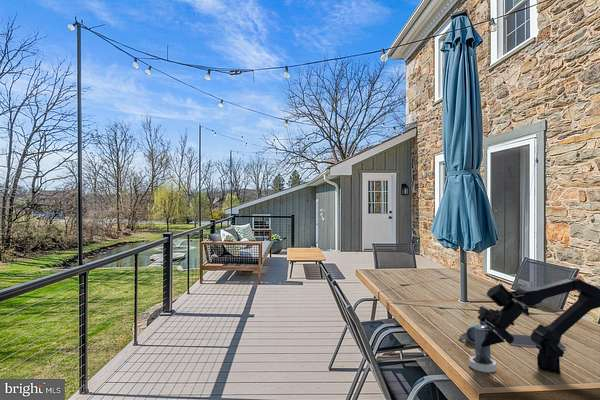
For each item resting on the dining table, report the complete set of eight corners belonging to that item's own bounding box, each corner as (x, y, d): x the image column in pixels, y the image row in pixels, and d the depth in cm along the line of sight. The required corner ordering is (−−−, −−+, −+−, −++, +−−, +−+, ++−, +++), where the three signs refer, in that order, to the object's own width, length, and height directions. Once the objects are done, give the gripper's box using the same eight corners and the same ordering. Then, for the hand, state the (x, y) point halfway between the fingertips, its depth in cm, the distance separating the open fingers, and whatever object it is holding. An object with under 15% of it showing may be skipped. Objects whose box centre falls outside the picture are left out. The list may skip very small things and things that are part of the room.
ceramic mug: (485, 339, 164) (484, 322, 165) (485, 345, 157) (484, 328, 158) (460, 336, 169) (459, 320, 170) (459, 342, 162) (458, 325, 162)
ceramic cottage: (527, 300, 235) (526, 277, 235) (543, 307, 219) (541, 283, 219) (503, 301, 237) (502, 278, 237) (516, 309, 220) (515, 285, 220)
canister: (488, 358, 138) (487, 325, 138) (492, 364, 132) (491, 329, 133) (473, 357, 139) (472, 324, 139) (477, 363, 134) (476, 328, 134)
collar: (497, 365, 137) (497, 359, 137) (494, 374, 129) (494, 368, 129) (471, 360, 142) (471, 354, 142) (467, 368, 134) (467, 362, 135)
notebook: (555, 341, 163) (503, 336, 170) (555, 337, 163) (503, 333, 170) (566, 351, 151) (510, 346, 158) (566, 347, 151) (510, 342, 158)
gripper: (481, 294, 145) (454, 320, 146) (503, 306, 127) (472, 336, 127) (502, 313, 144) (475, 340, 145) (527, 328, 126) (496, 359, 126)
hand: (478, 343), depth 136 cm, fingers closed on canister, 5 cm apart
